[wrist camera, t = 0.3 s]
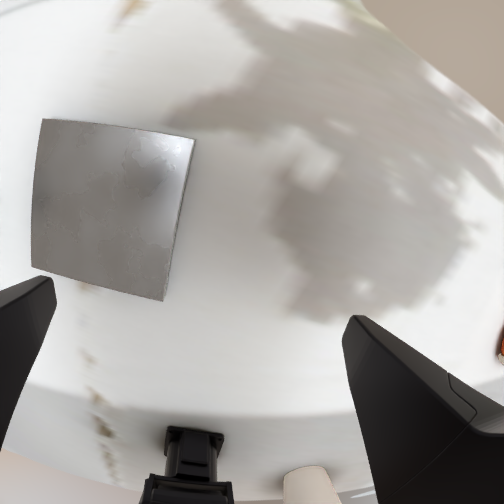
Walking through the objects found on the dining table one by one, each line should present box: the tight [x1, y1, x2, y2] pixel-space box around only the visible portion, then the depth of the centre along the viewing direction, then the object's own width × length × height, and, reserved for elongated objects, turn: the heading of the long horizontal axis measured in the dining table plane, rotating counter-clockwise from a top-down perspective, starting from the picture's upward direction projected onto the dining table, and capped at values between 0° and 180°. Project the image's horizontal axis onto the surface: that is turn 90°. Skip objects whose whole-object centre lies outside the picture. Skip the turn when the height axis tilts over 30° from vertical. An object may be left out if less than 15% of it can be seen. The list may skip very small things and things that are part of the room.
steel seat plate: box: [31, 119, 196, 302], centre depth 20 cm, size 12×12×1 cm
